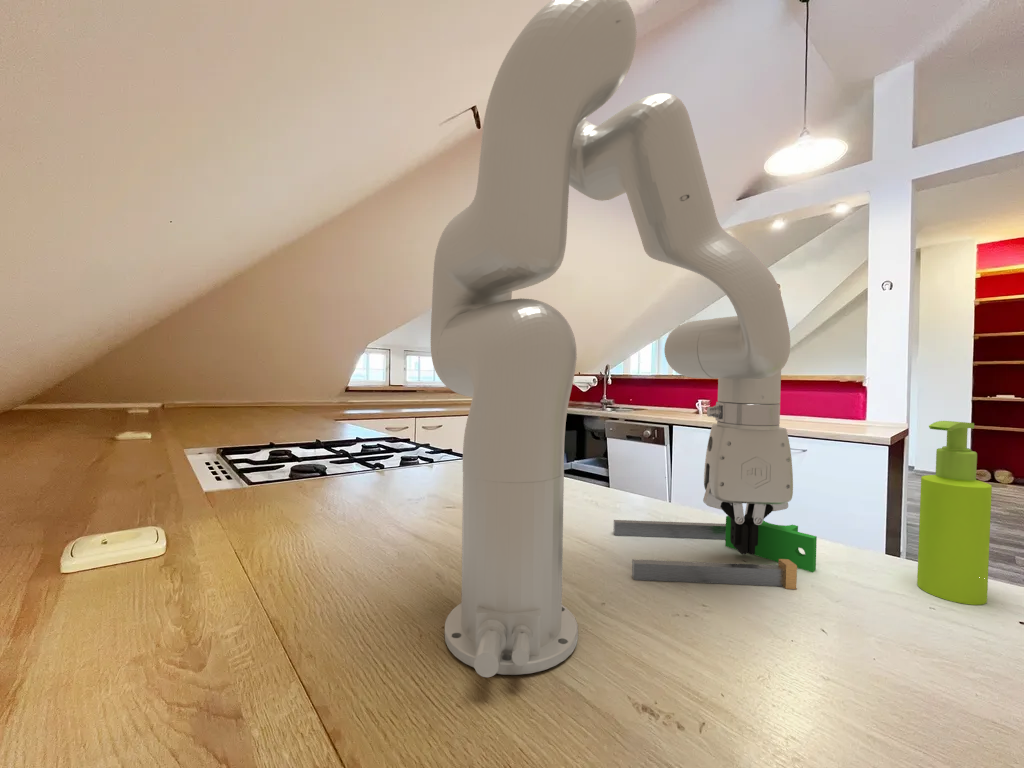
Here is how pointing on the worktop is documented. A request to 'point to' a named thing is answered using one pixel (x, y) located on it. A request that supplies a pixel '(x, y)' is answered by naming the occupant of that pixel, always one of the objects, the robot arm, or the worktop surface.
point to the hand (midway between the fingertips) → (743, 550)
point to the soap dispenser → (954, 523)
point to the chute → (701, 571)
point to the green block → (782, 544)
